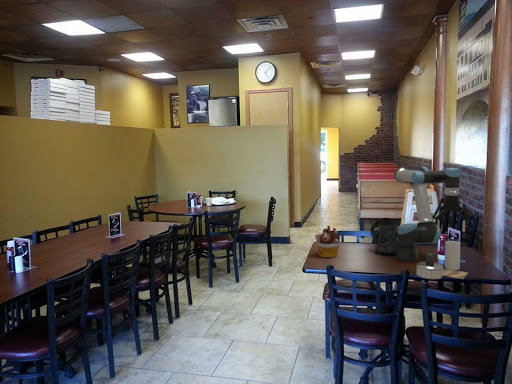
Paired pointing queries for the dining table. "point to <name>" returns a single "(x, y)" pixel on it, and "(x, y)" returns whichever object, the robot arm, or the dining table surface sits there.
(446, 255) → the cup
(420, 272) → the bowl
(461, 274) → the plate
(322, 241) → the bucket of meat
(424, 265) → the lid
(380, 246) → the beer stein
